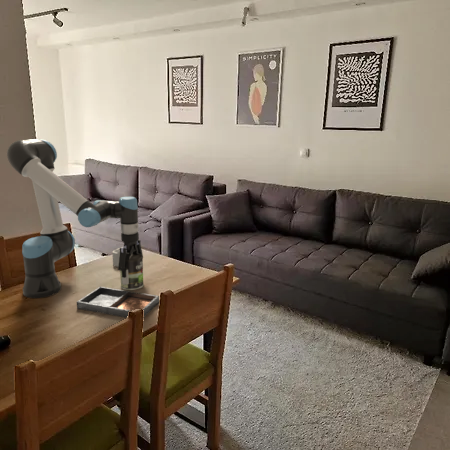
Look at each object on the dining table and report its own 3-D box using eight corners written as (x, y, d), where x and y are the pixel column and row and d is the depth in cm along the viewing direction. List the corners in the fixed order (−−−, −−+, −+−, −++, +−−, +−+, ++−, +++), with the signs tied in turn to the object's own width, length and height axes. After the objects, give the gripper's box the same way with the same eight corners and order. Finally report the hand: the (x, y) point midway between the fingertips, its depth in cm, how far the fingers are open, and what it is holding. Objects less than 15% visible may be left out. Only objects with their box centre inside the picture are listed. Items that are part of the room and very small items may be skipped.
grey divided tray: (77, 308, 154) (76, 301, 153) (100, 292, 169) (100, 286, 168) (140, 320, 146) (140, 313, 145) (159, 302, 160) (159, 296, 160)
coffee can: (147, 282, 180) (146, 253, 177) (138, 291, 170) (136, 261, 167) (126, 280, 182) (125, 251, 178) (116, 289, 172) (114, 259, 169)
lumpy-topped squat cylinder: (124, 259, 210) (123, 244, 208) (142, 263, 204) (142, 248, 202) (110, 265, 201) (109, 249, 199) (129, 269, 195) (128, 253, 193)
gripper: (123, 240, 158) (125, 290, 164) (149, 226, 179) (151, 271, 185) (107, 238, 160) (110, 287, 166) (135, 224, 181) (137, 269, 187)
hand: (131, 279), depth 175 cm, fingers closed on coffee can, 10 cm apart
